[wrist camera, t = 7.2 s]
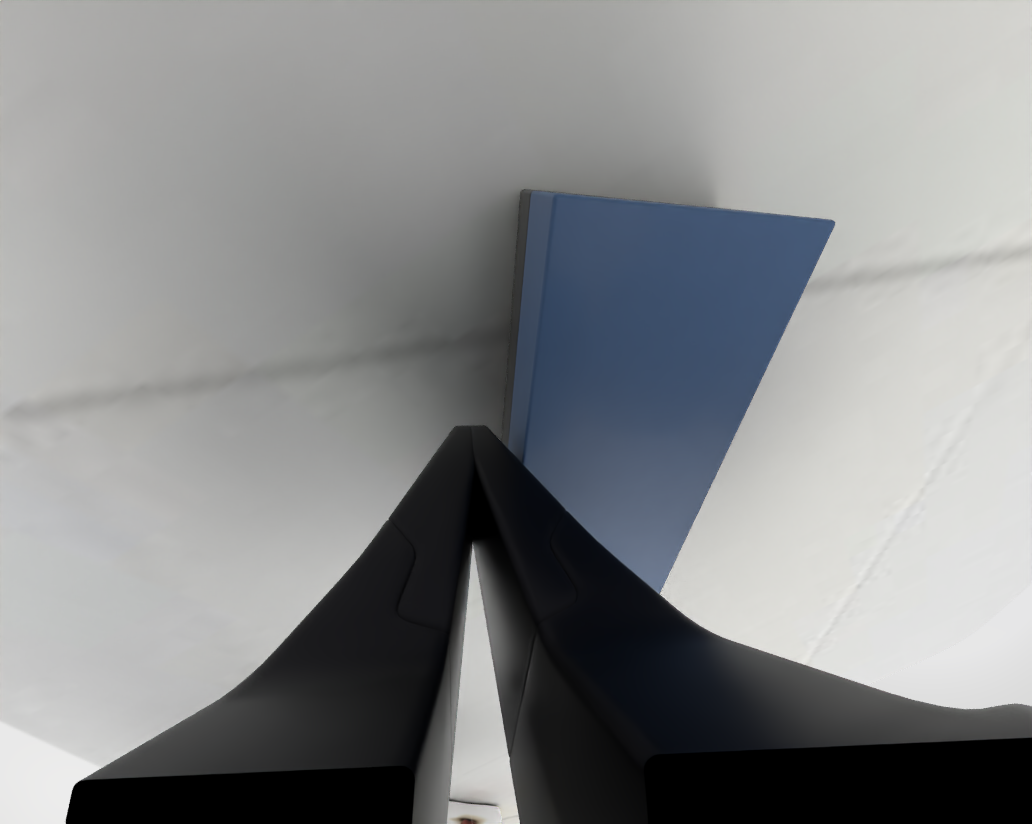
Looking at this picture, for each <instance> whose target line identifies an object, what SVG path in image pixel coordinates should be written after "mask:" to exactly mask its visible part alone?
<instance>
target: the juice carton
mask: <svg viewBox="0 0 1032 824" xmlns="http://www.w3.org/2000/svg"><path fill="white" fill-rule="evenodd" d="M447 824H502V819H501V813H500V808H499V807H496V806H489V805H477V804H466V803H460V802H453V801H449V805H448V816H447Z"/></svg>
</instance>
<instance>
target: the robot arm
mask: <svg viewBox="0 0 1032 824" xmlns="http://www.w3.org/2000/svg"><path fill="white" fill-rule="evenodd" d="M472 544H473V546H474V552H475V558H476V564H477V570H478V576H479V582H480V588H481V594H482V599H483V605H484V611H485V617H486V623H487V629H488V635H489V641H490V647H491V653H492V659H493V665H494V671H495V677H496V683H497V689H498V695H499V701H500V707H501V713H502V718H503V724H504V730H505V736H506V742H507V748H508V754H509V757H510V767H511V773H512V778H513V784H514V790H515V796H516V802H517V808H518V814H519V820H520V824H1032V706H1027V705H1023V704H1008V705H1002V706H995V707H990V708H984V709H957V708H950V707H942V706H937V705H933V704H929V703H924V702H920V701H915V700H911V699H908V698H905V697H901V696H898V695H894V694H891V693H888V692H885V691H881V690H879V689H876V688H872V687H870V686H867V685H863V684H860V683H857V682H854V681H851V680H848V679H845V678H842V677H839V676H836V675H833V674H830V673H827V672H824V671H821V670H818V669H815V668H812V667H809V666H806V665H803V664H800V663H797V662H794V661H791V660H788V659H785V658H782V657H779V656H776V655H773V654H770V653H767V652H764V651H761V650H758V649H755V648H752V647H749V646H746V645H743V644H740V643H737V642H734V641H731V640H728V639H725V638H722V637H720V636H718V635H716V634H714V633H712V632H710V631H708V630H706V629H705V628H703V627H701V626H699V625H698V624H696V623H695V622H693V621H692V620H691V619H689V618H688V617H686V616H685V615H684V614H682V613H681V612H680V611H679V610H677V609H676V608H675V607H674V606H673V605H671V604H670V603H669V602H668V601H667V600H666V599H664V598H663V597H662V596H661V595H660V594H658V593H657V592H656V591H655V590H654V589H653V588H651V587H650V586H649V585H648V584H647V583H645V582H644V581H643V580H642V579H641V578H640V577H638V576H637V575H636V574H635V573H634V572H632V571H631V570H630V569H629V568H628V567H627V566H625V565H624V564H623V563H622V562H621V561H619V560H618V559H617V558H616V557H615V556H614V555H613V554H612V553H610V552H609V551H608V550H607V549H606V548H605V547H604V546H603V545H601V544H600V543H599V542H598V541H597V540H596V539H595V538H594V537H593V536H592V535H591V534H590V533H589V532H588V531H587V530H586V529H585V528H584V527H583V526H582V525H581V524H580V523H579V522H578V521H577V520H576V519H575V518H574V517H573V516H572V515H571V514H570V513H569V512H568V511H566V509H565V508H564V507H563V506H562V505H561V504H560V503H559V501H558V500H557V499H556V498H555V497H554V496H553V495H552V494H551V493H550V492H549V491H548V490H547V489H546V488H545V487H544V486H543V485H542V484H541V483H540V482H539V480H538V479H537V478H536V477H535V476H534V475H533V474H532V473H531V472H530V471H529V470H528V469H527V468H526V467H525V466H524V465H523V464H522V463H521V462H520V461H519V460H518V458H517V457H516V456H515V455H514V454H513V453H512V452H511V451H510V450H509V449H508V448H507V447H506V446H505V445H504V444H503V443H502V442H501V441H500V440H499V439H498V437H497V436H496V435H495V434H494V433H493V432H492V431H491V430H490V429H489V428H488V427H487V426H484V425H479V426H455V427H454V428H453V429H452V431H451V432H450V433H449V435H448V436H447V438H446V439H445V440H444V442H443V443H442V445H441V446H440V447H439V449H438V450H437V452H436V453H435V454H434V456H433V457H432V459H431V460H430V461H429V463H428V464H427V466H426V467H425V468H424V470H423V471H422V472H421V474H420V475H419V477H418V478H417V479H416V481H415V482H414V484H413V485H412V486H411V488H410V489H409V491H408V492H407V493H406V495H405V496H404V498H403V499H402V500H401V502H400V503H399V505H398V506H397V507H396V509H395V510H394V512H393V513H392V514H391V516H390V517H389V520H388V521H386V522H385V524H384V525H383V527H382V528H381V529H380V531H379V532H378V534H377V535H376V536H375V538H374V539H373V540H372V542H371V543H370V544H369V545H368V547H367V548H366V549H365V551H364V552H363V553H362V554H361V556H360V557H359V558H358V559H357V561H356V562H355V563H354V564H353V565H352V566H351V567H350V569H349V570H348V571H347V572H346V573H345V574H344V575H343V577H342V578H341V579H340V580H339V581H338V582H337V583H336V585H335V586H334V587H333V588H332V589H331V590H330V591H329V592H328V593H327V594H326V595H325V597H324V598H323V599H322V600H321V601H320V602H319V603H318V604H317V605H316V606H315V607H314V609H313V610H312V611H311V612H310V613H309V614H308V615H307V616H306V617H305V618H304V620H303V621H302V622H301V623H300V624H299V625H298V626H297V627H296V628H295V629H294V630H293V632H292V633H291V634H290V635H289V636H288V637H287V638H286V639H285V640H284V641H283V643H282V644H281V645H280V646H279V647H278V648H277V649H276V650H275V651H274V652H273V653H272V654H271V655H270V657H269V658H268V659H267V660H266V661H265V662H264V663H263V664H262V665H261V666H260V667H258V668H257V669H256V670H255V671H254V672H253V673H252V674H251V675H250V676H249V677H247V678H246V679H245V680H244V681H243V682H241V683H240V684H239V685H238V686H237V687H235V688H234V689H233V690H231V691H230V692H229V693H227V694H226V695H225V696H223V697H222V698H220V699H219V700H217V701H216V702H214V703H212V704H211V705H209V706H207V707H206V708H204V709H202V710H200V711H199V712H197V713H195V714H194V715H192V716H190V717H188V718H187V719H185V720H183V721H182V722H180V723H178V724H177V725H175V726H173V727H171V728H170V729H168V730H166V731H165V732H163V733H161V734H159V735H158V736H156V737H154V738H153V739H151V740H149V741H147V742H146V743H144V744H142V745H141V746H139V747H137V748H135V749H134V750H132V751H130V752H129V753H127V754H125V755H123V756H122V757H120V758H118V759H117V760H115V761H113V762H111V763H110V764H108V765H106V766H105V767H103V768H101V769H99V770H98V771H96V772H94V773H93V774H91V775H89V776H88V777H86V778H84V779H83V780H81V781H79V782H78V783H76V784H75V786H74V787H73V790H72V794H71V799H70V804H69V808H68V812H67V817H66V824H447V816H448V805H449V794H450V784H451V773H452V761H453V751H454V740H455V729H456V718H457V707H458V696H459V685H460V674H461V663H462V653H463V642H464V631H465V620H466V609H467V598H468V587H469V576H470V565H471V554H472Z"/></svg>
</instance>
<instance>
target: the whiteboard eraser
mask: <svg viewBox="0 0 1032 824" xmlns="http://www.w3.org/2000/svg"><path fill="white" fill-rule="evenodd" d="M834 226H835V222H834V221H833V220H828V219H819V218H809V217H799V216H790V215H780V214H771V213H761V212H752V211H742V210H732V209H723V208H713V207H702V206H692V205H682V204H671V203H661V202H651V201H640V200H630V199H620V198H609V197H599V196H589V195H578V194H568V193H558V192H547V191H537V190H526V189H524V190H522V191H521V193H520V206H519V219H518V232H517V245H516V258H515V271H514V284H513V297H512V310H511V323H510V336H509V349H508V362H507V375H506V388H505V400H504V413H503V426H502V439H501V442H502V443H503V444H504V445H505V446H506V447H507V448H508V449H509V450H510V451H511V452H512V453H513V454H514V455H515V456H516V457H517V458H518V460H519V461H520V462H521V463H522V464H523V465H524V466H525V467H526V468H527V469H528V470H529V471H530V472H531V473H532V474H533V475H534V476H535V477H536V478H537V479H538V480H539V482H540V483H541V484H542V485H543V486H544V487H545V488H546V489H547V490H548V491H549V492H550V493H551V494H552V495H553V496H554V497H555V498H556V499H557V500H558V501H559V503H560V504H561V505H562V506H563V507H564V508H565V509H566V511H568V512H569V513H570V514H571V515H572V516H573V517H574V518H575V519H576V520H577V521H578V522H579V523H580V524H581V525H582V526H583V527H584V528H585V529H586V530H587V531H588V532H589V533H590V534H591V535H592V536H593V537H594V538H595V539H596V540H597V541H598V542H599V543H600V544H601V545H603V546H604V547H605V548H606V549H607V550H608V551H609V552H610V553H612V554H613V555H614V556H615V557H616V558H617V559H618V560H619V561H621V562H622V563H623V564H624V565H625V566H627V567H628V568H629V569H630V570H631V571H632V572H634V573H635V574H636V575H637V576H638V577H640V578H641V579H642V580H643V581H644V582H645V583H647V584H648V585H649V586H650V587H651V588H653V589H654V590H655V591H656V592H657V593H658V594H660V592H661V589H662V587H663V585H664V583H665V581H666V579H667V577H668V575H669V573H670V571H671V568H672V566H673V564H674V562H675V560H676V558H677V556H678V554H679V552H680V550H681V547H682V545H683V543H684V541H685V539H686V537H687V535H688V533H689V531H690V528H691V526H692V524H693V522H694V520H695V518H696V516H697V514H698V512H699V510H700V507H701V505H702V503H703V501H704V499H705V497H706V495H707V493H708V491H709V489H710V486H711V484H712V482H713V480H714V478H715V476H716V474H717V472H718V470H719V468H720V465H721V463H722V461H723V459H724V457H725V455H726V453H727V451H728V449H729V446H730V444H731V442H732V440H733V438H734V436H735V434H736V432H737V430H738V428H739V425H740V423H741V421H742V419H743V417H744V415H745V413H746V411H747V409H748V407H749V404H750V402H751V400H752V398H753V396H754V394H755V392H756V390H757V388H758V386H759V383H760V381H761V379H762V377H763V375H764V373H765V371H766V369H767V367H768V364H769V362H770V360H771V358H772V356H773V354H774V352H775V350H776V348H777V346H778V343H779V341H780V339H781V337H782V335H783V333H784V331H785V329H786V327H787V325H788V322H789V320H790V318H791V316H792V314H793V312H794V310H795V308H796V306H797V304H798V301H799V299H800V297H801V295H802V293H803V291H804V289H805V287H806V285H807V282H808V280H809V278H810V276H811V274H812V272H813V270H814V268H815V266H816V264H817V261H818V259H819V257H820V255H821V253H822V251H823V249H824V247H825V245H826V243H827V240H828V238H829V236H830V234H831V232H832V230H833V228H834Z"/></svg>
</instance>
